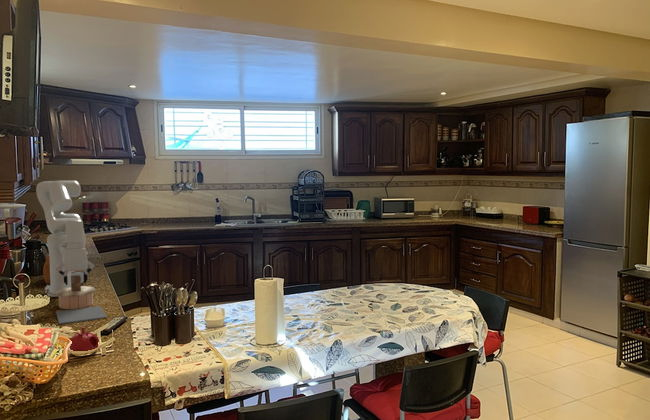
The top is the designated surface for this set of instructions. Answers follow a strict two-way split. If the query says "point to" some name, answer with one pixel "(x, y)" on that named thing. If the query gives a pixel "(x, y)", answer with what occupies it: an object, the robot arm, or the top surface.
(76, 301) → the bowl
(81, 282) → the tin
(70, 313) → the mat
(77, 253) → the robot arm
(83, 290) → the lid
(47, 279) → the bread
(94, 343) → the pomegranate
